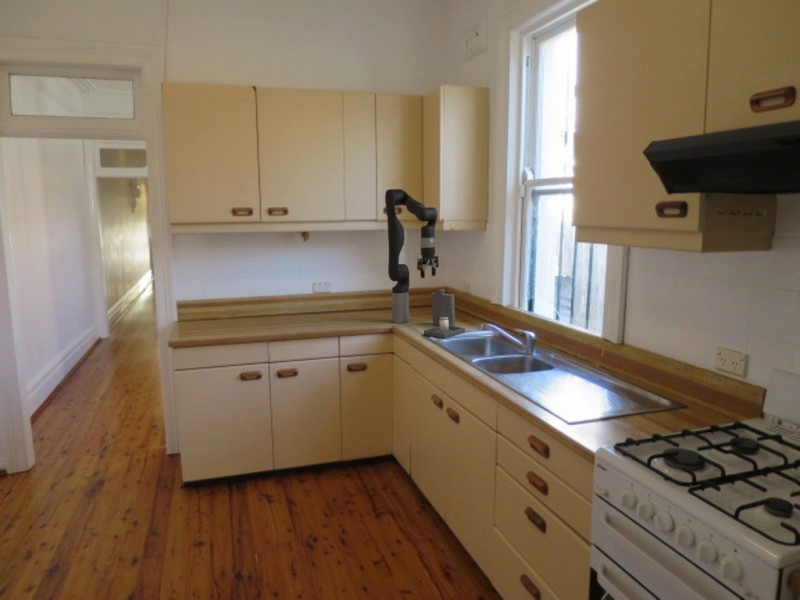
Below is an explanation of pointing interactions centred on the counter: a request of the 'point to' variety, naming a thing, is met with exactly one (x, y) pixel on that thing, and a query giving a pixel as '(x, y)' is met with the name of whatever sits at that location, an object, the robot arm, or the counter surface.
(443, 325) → the shaker
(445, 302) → the hip flask
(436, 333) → the tray
